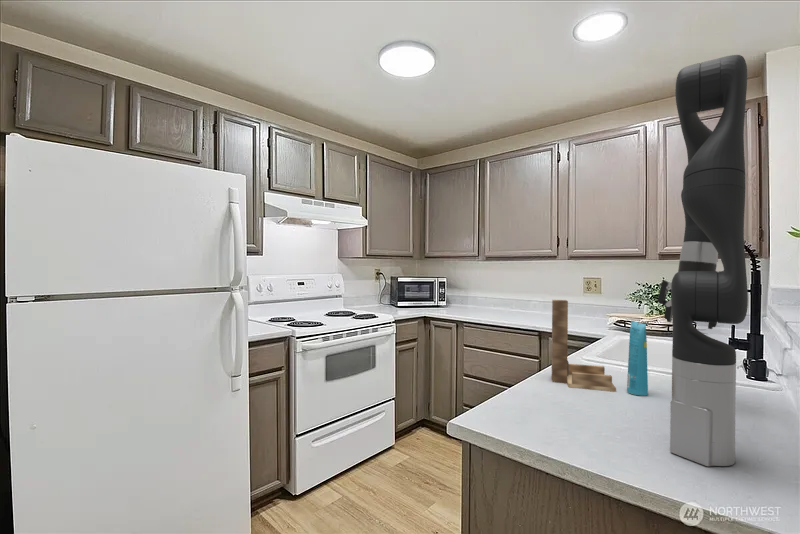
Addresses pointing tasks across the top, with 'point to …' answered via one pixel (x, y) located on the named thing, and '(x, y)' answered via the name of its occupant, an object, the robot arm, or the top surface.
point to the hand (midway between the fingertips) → (689, 325)
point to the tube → (637, 360)
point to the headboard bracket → (560, 366)
